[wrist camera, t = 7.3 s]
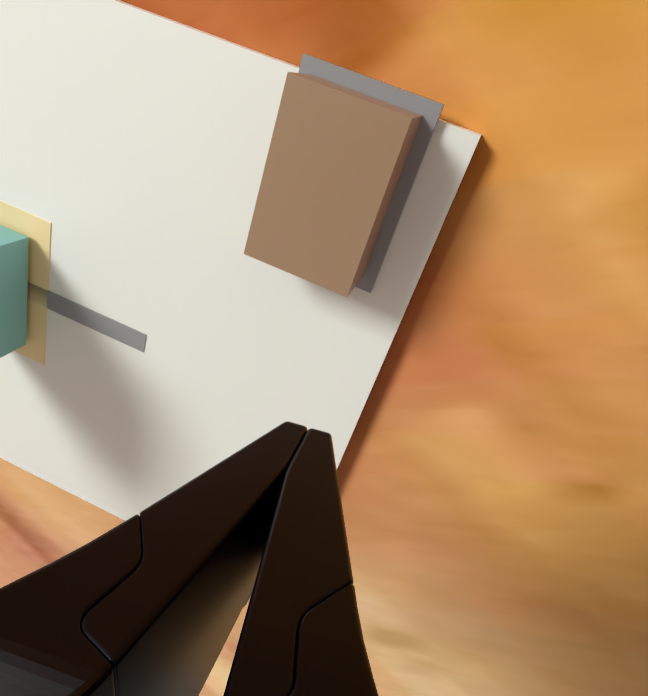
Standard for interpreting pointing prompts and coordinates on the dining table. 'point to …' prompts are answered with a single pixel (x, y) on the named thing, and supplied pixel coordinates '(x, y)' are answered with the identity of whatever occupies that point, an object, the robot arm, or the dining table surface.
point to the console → (199, 243)
